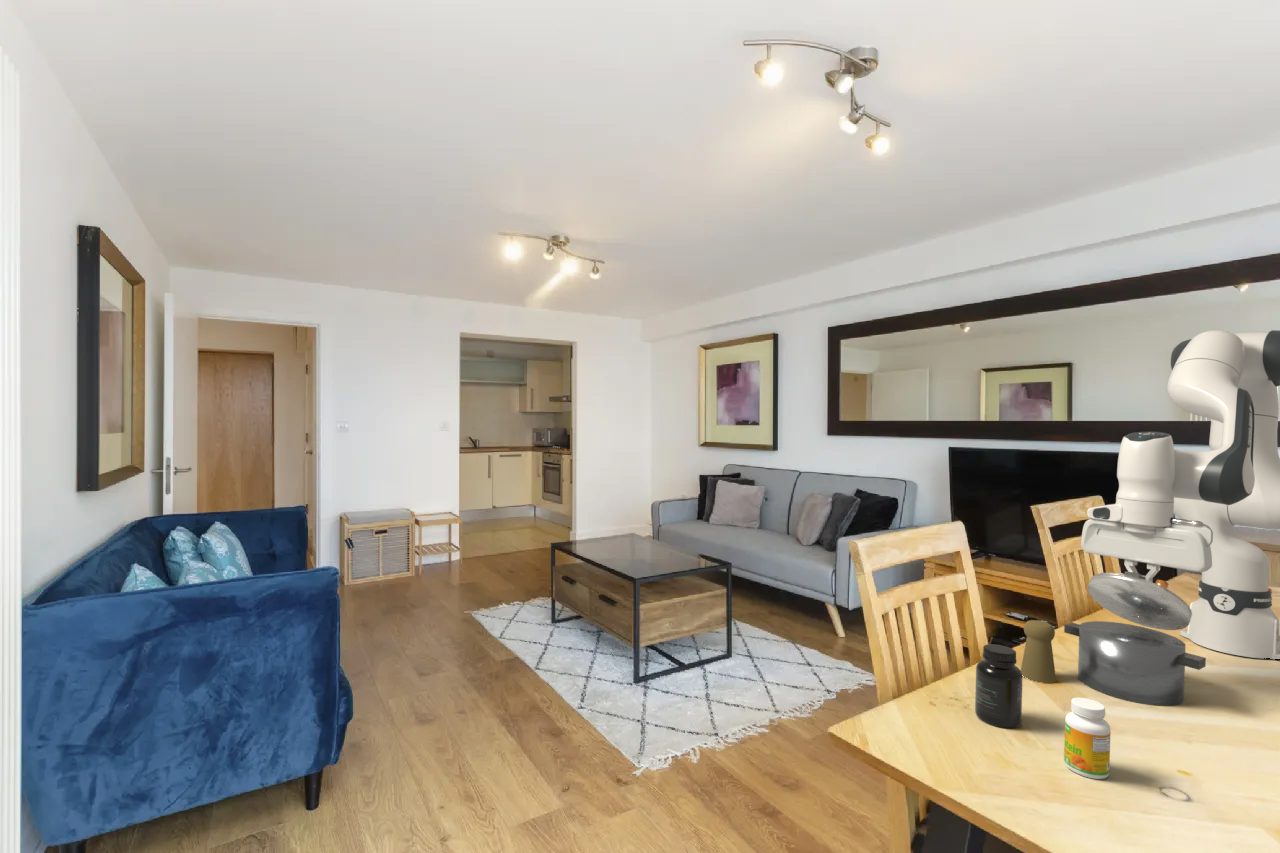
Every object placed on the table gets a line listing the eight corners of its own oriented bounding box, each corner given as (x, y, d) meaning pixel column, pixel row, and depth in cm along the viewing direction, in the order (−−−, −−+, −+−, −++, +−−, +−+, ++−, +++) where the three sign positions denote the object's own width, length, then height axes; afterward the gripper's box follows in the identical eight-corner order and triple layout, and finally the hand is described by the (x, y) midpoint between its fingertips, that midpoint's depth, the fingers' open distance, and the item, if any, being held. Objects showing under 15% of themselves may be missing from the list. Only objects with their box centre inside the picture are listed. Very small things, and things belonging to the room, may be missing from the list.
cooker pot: (1085, 659, 133) (1086, 613, 133) (1217, 699, 114) (1219, 645, 114) (1046, 674, 125) (1048, 624, 124) (1182, 720, 106) (1184, 662, 106)
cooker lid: (1102, 615, 130) (1107, 601, 131) (1200, 639, 117) (1205, 624, 118) (1075, 571, 124) (1081, 557, 125) (1175, 591, 110) (1181, 575, 112)
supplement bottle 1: (1000, 708, 109) (1002, 640, 109) (1031, 727, 102) (1033, 655, 102) (965, 711, 108) (967, 642, 108) (994, 730, 101) (996, 657, 101)
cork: (1061, 684, 120) (1063, 628, 120) (1027, 681, 121) (1028, 625, 121) (1048, 672, 126) (1049, 618, 125) (1015, 669, 127) (1016, 616, 127)
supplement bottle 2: (1054, 759, 93) (1056, 695, 93) (1088, 758, 93) (1090, 694, 93) (1083, 780, 87) (1085, 712, 87) (1119, 779, 88) (1121, 711, 88)
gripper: (1219, 521, 114) (1217, 596, 114) (1093, 506, 132) (1090, 571, 132) (1206, 523, 111) (1203, 600, 111) (1078, 508, 128) (1076, 574, 128)
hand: (1141, 584), depth 121 cm, fingers closed, pressing on cooker lid
